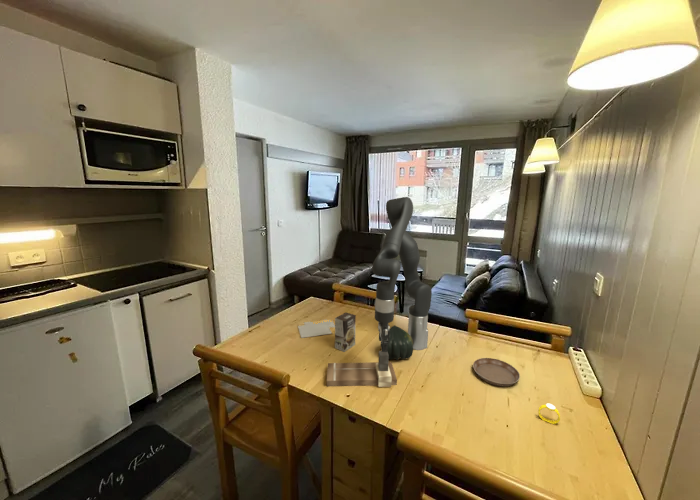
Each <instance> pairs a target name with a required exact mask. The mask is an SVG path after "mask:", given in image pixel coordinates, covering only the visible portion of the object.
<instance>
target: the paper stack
mask: <svg viewBox="0 0 700 500" xmlns="http://www.w3.org/2000/svg"><path fill="white" fill-rule="evenodd" d="M303 324H304V325H303ZM303 324H302V325H298V326H297V328H298V332H299V335H300V337H301V339H302V338H304V339H305V338H309V337H311V338H312V337H317V336H323V335H330V334H333V332H332V330H331V329H330V328H335V322H334V321H333V320H332V322H330V320H329V322H328V321H327V322H324V321H323V323H322V322H321V323H318V324H315V323H314V324H313V322H311V321H304V322H303Z"/></svg>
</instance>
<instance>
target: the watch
mask: <svg viewBox="0 0 700 500" xmlns="http://www.w3.org/2000/svg"><path fill="white" fill-rule="evenodd" d="M542 409H547V410H549V411H552V412H555V413H556V414H557V419H554V420H552V419H549V418H545V417H544V416H543V414H541V410H542ZM537 412H538V413H537V414H538V416H539V418H540V419H541V420H542V421H543V422H547V423H549V424H551V425H554V424H558V423H559V422H560V420H561V414H560V411H559V410H558V409H557V408H556V406H555V405H553V404H552V403H546V404H541V405H540V406H539V407H538V411H537Z"/></svg>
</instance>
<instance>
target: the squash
mask: <svg viewBox="0 0 700 500" xmlns="http://www.w3.org/2000/svg"><path fill="white" fill-rule="evenodd" d="M389 328H390V336H389V344H388V349H387V351H388V355H389V360H396V361H397V360H400V359H401V360H402V359H404V360H406V359H410V358H411V357H412V355H413V354H414V349H413V340H412V338H411V336H410V335H409V334H408V331H406V330H404V329H403V328H401V327H398V326H397V325H392V326H391V327H389ZM384 340H387V339H384ZM380 347H381V349H382V342H381V341H380Z"/></svg>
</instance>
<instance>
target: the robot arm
mask: <svg viewBox="0 0 700 500" xmlns="http://www.w3.org/2000/svg"><path fill="white" fill-rule="evenodd" d="M385 210H386V215H387V218H388V222H389V224H390V226H391V228H390V229H389V230H388V232H387V233H386V234H385V235H384V236H385V237H384V240H383V242H382V247H381V249H380V251H379V253H378V254H377V256H376V257H375V259H374V261H373V262H372V268H371V269H372V270H371V271H372V273H373V274H374V275H375V276H376V277H383V278H384V277H385V278H389V280H385V281H384V280H383V281H379V282H378V283H377V284H376V292H375V301H374V303H375V304H374V320H375V321H376V322H378V325H377V328H378V341H379V342H380V343H381V342H382V348H381V351H382V352H387V349H388V344H389V336H390V328H391V327H390V325H389V323H392V322H394V319H395V318H394V317H395V288H396V284H397V280H398V277H399V275H400V271H401V267H402V271H403V275H404V280H405V287H406V293H407V294H408V296H409V297H410V298H411V299H413V300H414V304H411V305H410V306H409V308H408V321H407V322H408V324H407V325H408V326H407V333H408V334H409V335H410V336H411V338H412V340H413V350H417V351H418V350H419V351H421V350H424V349H428V342H429V329H428V319H429V311H430V309H431V305H432V303H431V302H432V297H433V295H432V294H433V292H432V288H431V286H430V285H429V284H428V283H425V282H422V280H421V279H420V276H419V273H418V272H419V271H418V268H419V263H420V258H421V255H420V250H419V246H418V243H417V240H415V238H413V236H411V234H410V233H409V232H408V231H407V228H408V226H409V223H410V222H411V219H412V216H413V214H414V213H413V212H414V203H413V201H412V199H411V198H410V197H409V196H404V197H403V196H402V197H398V198H392V199H389V200H387V201H386V203H385ZM398 256H399V260H400V262H399V260H398V259H396V258H398ZM384 339H387V340H384Z"/></svg>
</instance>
